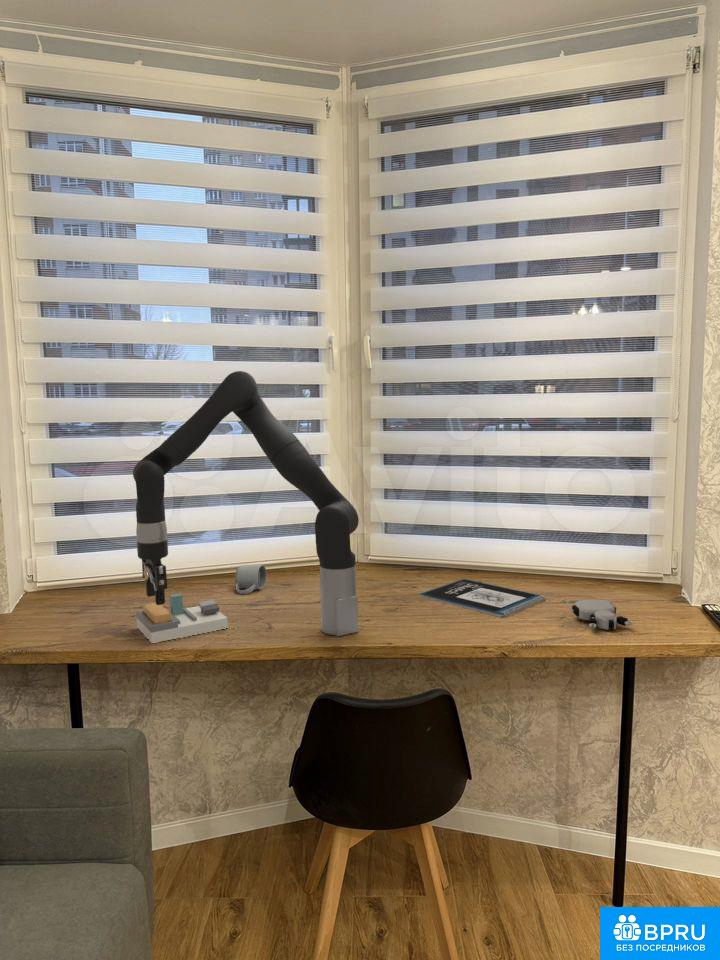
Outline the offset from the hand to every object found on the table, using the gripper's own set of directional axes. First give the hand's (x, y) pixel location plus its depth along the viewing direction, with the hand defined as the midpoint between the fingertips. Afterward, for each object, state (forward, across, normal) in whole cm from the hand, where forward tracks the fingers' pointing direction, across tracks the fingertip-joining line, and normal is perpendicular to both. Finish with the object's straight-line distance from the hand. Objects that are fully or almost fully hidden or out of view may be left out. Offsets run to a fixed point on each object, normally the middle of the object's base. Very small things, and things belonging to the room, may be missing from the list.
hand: (155, 600), depth 188 cm
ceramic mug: (+9, +23, -35) cm, 43 cm away
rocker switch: (+5, 0, -14) cm, 15 cm away
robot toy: (+9, -58, -100) cm, 115 cm away
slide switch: (+6, +4, -6) cm, 10 cm away
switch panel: (+9, 0, -6) cm, 11 cm away
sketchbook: (+9, -24, -89) cm, 92 cm away
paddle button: (+4, 0, 0) cm, 4 cm away
